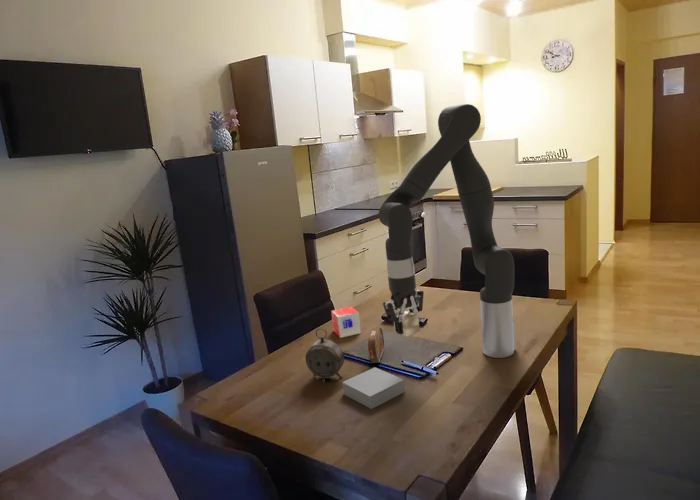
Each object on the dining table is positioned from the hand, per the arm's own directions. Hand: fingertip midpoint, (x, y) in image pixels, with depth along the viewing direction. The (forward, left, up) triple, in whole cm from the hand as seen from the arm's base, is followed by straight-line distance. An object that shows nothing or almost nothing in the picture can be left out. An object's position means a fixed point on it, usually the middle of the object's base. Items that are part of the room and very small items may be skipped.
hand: (407, 330), depth 149 cm
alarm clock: (+18, -17, -14) cm, 29 cm away
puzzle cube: (-9, -42, -14) cm, 45 cm away
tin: (-2, -17, -14) cm, 22 cm away
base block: (+14, 0, -14) cm, 20 cm away
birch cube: (0, 0, -1) cm, 1 cm away
